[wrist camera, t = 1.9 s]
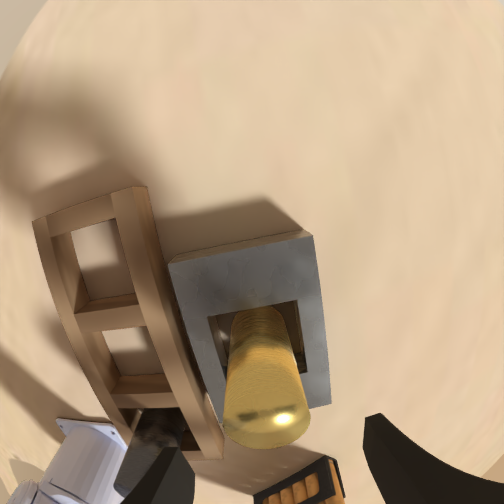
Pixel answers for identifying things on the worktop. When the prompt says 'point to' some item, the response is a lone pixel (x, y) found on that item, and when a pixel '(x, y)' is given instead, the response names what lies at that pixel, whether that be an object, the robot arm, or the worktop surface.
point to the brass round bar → (263, 383)
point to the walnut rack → (128, 320)
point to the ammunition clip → (307, 486)
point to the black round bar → (149, 444)
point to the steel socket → (253, 303)
